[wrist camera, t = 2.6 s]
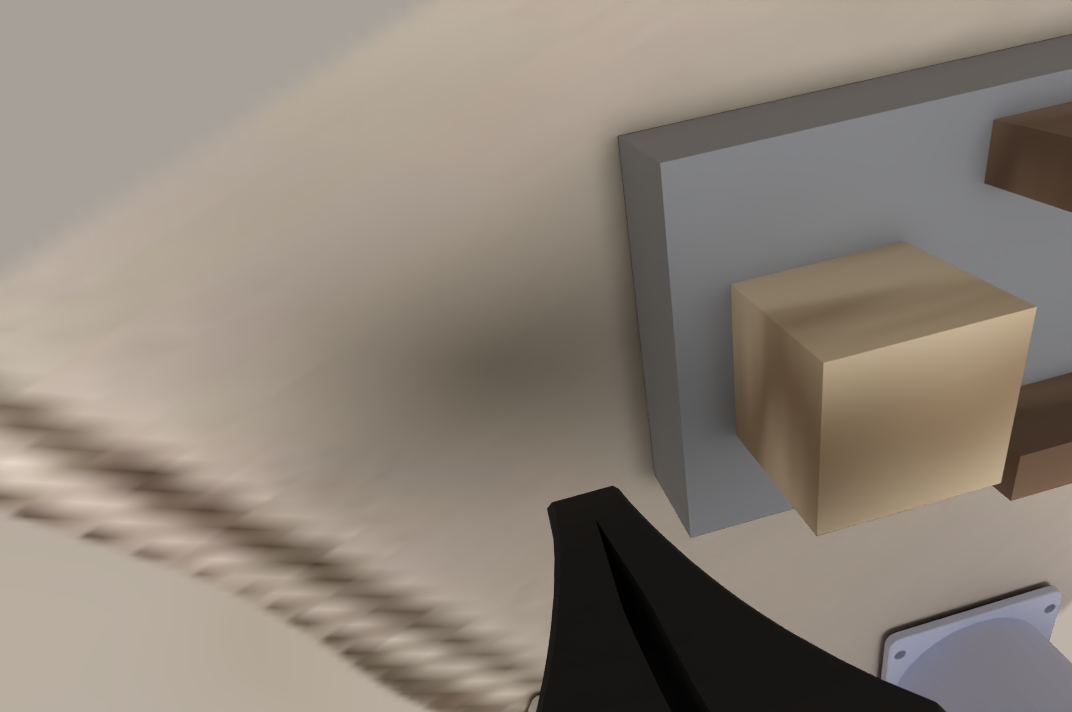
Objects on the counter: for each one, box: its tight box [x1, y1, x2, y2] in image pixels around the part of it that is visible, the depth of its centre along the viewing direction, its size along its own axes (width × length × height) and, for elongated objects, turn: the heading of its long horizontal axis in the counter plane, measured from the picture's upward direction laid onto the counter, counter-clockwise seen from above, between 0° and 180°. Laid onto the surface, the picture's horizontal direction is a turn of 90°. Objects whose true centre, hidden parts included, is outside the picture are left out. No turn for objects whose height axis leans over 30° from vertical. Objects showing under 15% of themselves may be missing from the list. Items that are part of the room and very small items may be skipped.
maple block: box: [731, 241, 1037, 536], centre depth 16 cm, size 4×4×4 cm
